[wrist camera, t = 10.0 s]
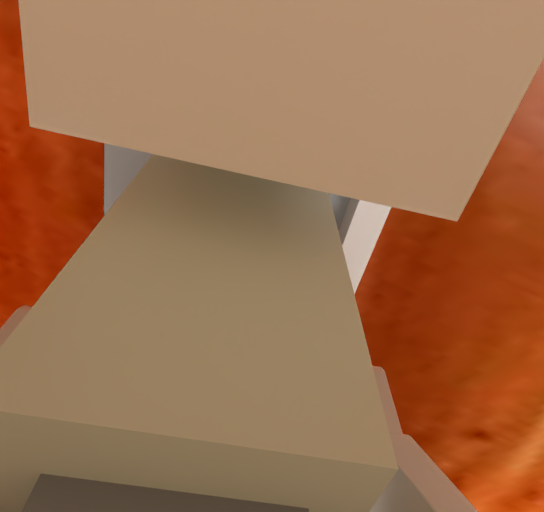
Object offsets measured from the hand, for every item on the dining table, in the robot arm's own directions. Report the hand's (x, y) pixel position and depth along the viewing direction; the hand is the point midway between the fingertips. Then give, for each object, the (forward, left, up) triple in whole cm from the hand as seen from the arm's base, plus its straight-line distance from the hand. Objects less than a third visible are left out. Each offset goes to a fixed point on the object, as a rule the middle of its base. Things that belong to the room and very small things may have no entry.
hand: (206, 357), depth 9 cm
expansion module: (0, 0, -4) cm, 4 cm away
